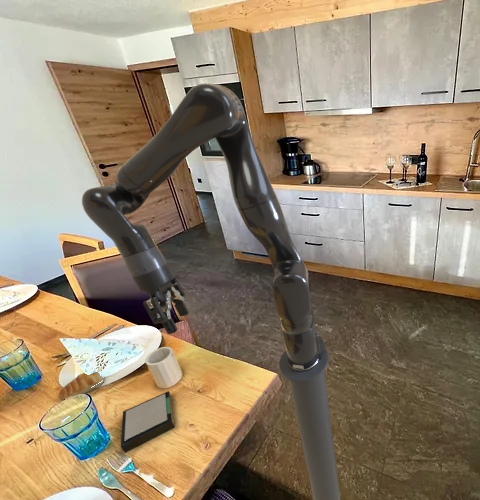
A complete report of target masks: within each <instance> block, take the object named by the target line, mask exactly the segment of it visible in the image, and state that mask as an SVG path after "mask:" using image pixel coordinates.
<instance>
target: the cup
mask: <svg viewBox="0 0 480 500" xmlns="http://www.w3.org/2000/svg"><path fill="white" fill-rule="evenodd" d="M144 361H145V365H146V367H147V369H148V371H149V373H150V374H151V377H152V378H153V381H154V382H155V384H156V386H157V387H158V388H159V389H168V388H171V387H173V386H175V385H176V384H177V383H179V381H181V379H182V377H183V370H182V368H181V366H180V363H179V361H178V359H177V357H176V355H175V352H174V350H173V348H172V347H170V346H162V347H161V346H160V347H159V348H156V349H154V350H153V351H151V352H150V353H148V355H147V356H146V358H145V360H144Z"/></svg>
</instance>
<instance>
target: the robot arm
mask: <svg viewBox="0 0 480 500" xmlns="http://www.w3.org/2000/svg"><path fill="white" fill-rule="evenodd" d="M213 139H215V141H216V143H217V145H218V147H219V149H220V151H221V153H222V156H223V158H224V160H225V164H226V168H227V172H228V178H229V183H230V189H231V193H232V198H233V201H234V204H235V206H236V208H237V211H238V213H239V215H240V217H241V219H242V221H243V223H244V225H245V227H246V228H247V230H248V231H249V233H251V234H252V235H253V237H254V238H255V239H256V240H257V241H258V242H259V244H261V245H262V246H263V248H264V249H265V251H266V253H267V256H268V258H269V260H270V263H271V266H272V269H273V278H272V282H271V292H272V297H273V303H274V307H275V311H276V314H277V316H278V317H279V321H280V326H281V330H282V335H283V341H284V346H285V351H287V356H288V363H289V366H290V367H291V369H293V370H295V371H298V372H304V371H308V370H310V369H312V368H313V367H315V366H316V365H317V363H318V361H319V360H321V359H322V358H321V352H322V351H324V350H327V349H326V342H325V341H324V339H323V338H321V336H320V335H319V333H317V332H316V326H315V325H316V324H315V319H314V318H315V317H314V311H313V305H312V302H311V296H310V295H311V294H310V286H309V271H308V268H307V266H306V264H305V262H304V260H303V258H302V257H301V255H300V253H299V251H298V249H297V248H296V246H295V244H294V242H293V239H292V236H291V233H290V229H289V226H288V223H287V221H286V220H287V219H286V218H285V215H284V212H283V209H282V206H281V204H280V201H279V199H278V196H277V194H276V191H275V189H274V187H273V185H272V183H271V180H270V178H269V176H268V174H267V171H266V169H265V167H264V165H263V162H262V161H261V158H260V155H259V154H258V151H257V148H256V147H255V143H254V139H253V137H252V133H251V130H250V127H249V123H248V120H247V117H246V113H245V110H244V107H243V104H242V102H241V101H240V99H239V98H238V96H237V95H236V94H235V93H234V91H232V90H231V89H229V88H228V87H227V86H224V85H220V84H215V83H198V84H196V85H194V86H193V87H191V88H190V89H189V91H188V92H187V93H186V94H185V96H184V97H183V98H182V100H181V101H180V103H179V104H178V106H177V107H176V108H175V110H174V111H173V113H172V114H171V116H170V117H169V118H168V119H167V121H166V122H165V123H164V125H163V126H162V127H161V128H160V129H159V130H158V132H157V133H156V134H155V135H154V136H153V137H152V138H151V139H150V140H148V142H147V143H145V144H144V145H143V146H142V147H141V148H140V149H139V150H137V152H136V153H134V154H133V155H132V156H131V157H130V158H129V159H128V160H126V162H124V164H122V165H121V166H120V167H119V169H118V170H117V171H116V174H115V179H116V181H115V182H113V183H111V184H108V185H102V186H96V187H91V188H88V189H87V190H85V191H84V192H83V193H82V196H81V206H82V208H83V211H84V212H85V214H86V215H87V217H88V218H89V219H90V220H91V221H92V222H93V223H94V225H96V226H97V227H98V228H99V229H100V230H101V231H102V232H103V233H104V234H105V235H106V236H107V237H108V238H109V239H110V240H111V242H113V243H114V245H115V247H116V249H117V251H118V252H119V254H120V256H121V258H122V260H123V263H124V265H125V267H126V269H127V271H128V273H129V274H130V275H131V278H132V279H133V281H134V283H135V284H136V287H137V288H138V289H139V292H141V293H148V295H149V299H147V300H144V301H143V302H142V304H143V306H144V308H145V310H146V312H147V314H148V317H149V318H150V319H151V322H152V324H153V325H158V324H161V325H162V327H163V328H164V330H165V332H166V333H167V334H168V335H171V334H175V333H177V331H178V329H179V328H178V327H177V325H176V323H175V322H174V319H173V317H172V316H171V310H172V308H173V307H172V304H173V306H174V308H175V310H176V312H177V313H178V316H180V317H185V316H187V315H188V314H189V312H190V311H189V310H188V308H187V306H186V304H185V302H184V301H185V299H184V297H185V296H186V294H185V291H184V289H183V288H182V286H181V284H180V283H179V281H178V279H177V277H175V276H174V274H173V271H172V270H171V268H170V266H169V264H168V263H167V261H166V259H165V257H164V255H163V253H162V251H161V250H160V249H159V247H158V246H157V244H156V242H155V240H154V238H153V236H152V235H151V233H150V231H149V229H148V227H146V226H145V225H144V224H142V223H133V222H131V221H130V220H129V219H128V218H127V217H126V216H128V215H130V214H132V213H134V212H136V211H137V210H138V209H140V208H141V207H142V206H143V204H144V203H145V202H146V201H147V199H148V198H149V196H150V194H151V193H153V192H154V191H155V190H156V189H157V188H159V187H160V186H161V185H162V184H163V183H164V182H166V181H167V180H168V179H169V178H171V176H172V175H173V174H174V173H175V171H176V170H177V169H178V168H179V166H180V165H181V164H182V162H183V161H184V160H185V159H187V157H188V156H189V155H190V154H191V153H192V152H194V151H195V150H197V149H198V148H200V147H201V146H203V145H204V144H206V143H209V142H210V141H212V140H213Z"/></svg>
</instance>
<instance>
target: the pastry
mask: <svg viewBox="0 0 480 500" xmlns="http://www.w3.org/2000/svg"><path fill="white" fill-rule="evenodd" d="M102 380H103V382H101V381H102ZM99 382H101V383H99ZM98 383H99V384H98ZM104 383H105V379H104V377H103V376H102V375H101V376H100V374H99V373H98V372H95V373H93V374H90V375H87V374H85V373H84V372H83V373H80V374H78V375H77V376H76V377H75V378H74V379H72V380H71V381H70V382H68V383H67V384H65V385H64V387H62V388H61V389H60V390H59V393H58V399H61V400H64V399H65V398H68V397H70V396H74V395H77V394H82V395H84V394H87V393H89V392H91V391H92V390H94V389H97V388H99V387H100V386H101V385H103V384H104ZM96 384H97V385H96ZM94 385H95V386H94ZM92 386H94V387H92ZM91 387H92V388H91Z"/></svg>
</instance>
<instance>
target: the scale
mask: <svg viewBox="0 0 480 500" xmlns="http://www.w3.org/2000/svg"><path fill="white" fill-rule="evenodd" d="M121 419H122V421H121V422H122V423H121V435H120V448H121V449H122V451H123V452H124V454H126V453H128V452H130V451H132V450H134V449H135V448H138V447H140V446H141V445H142V446H143V444H146V443H148V442H150V441H151V440H153V439H155V438H157V437H159V436H161V435H163V434H165V433H167V432H169V431H171V430H173V429H175V428H176V424H175V423H176V422H175V415H174V404H173V396H172V394H171V392H170V391H169V390H168V391H167V390H166V391H165V392H163V393H161V394H159V395H156V396H154V397H152V398H150V399H148V400H145V401H143V402H140V403H139V404H137V405H134V406H132V407H129V408H127V409H125V410H123V411H122V418H121Z"/></svg>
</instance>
